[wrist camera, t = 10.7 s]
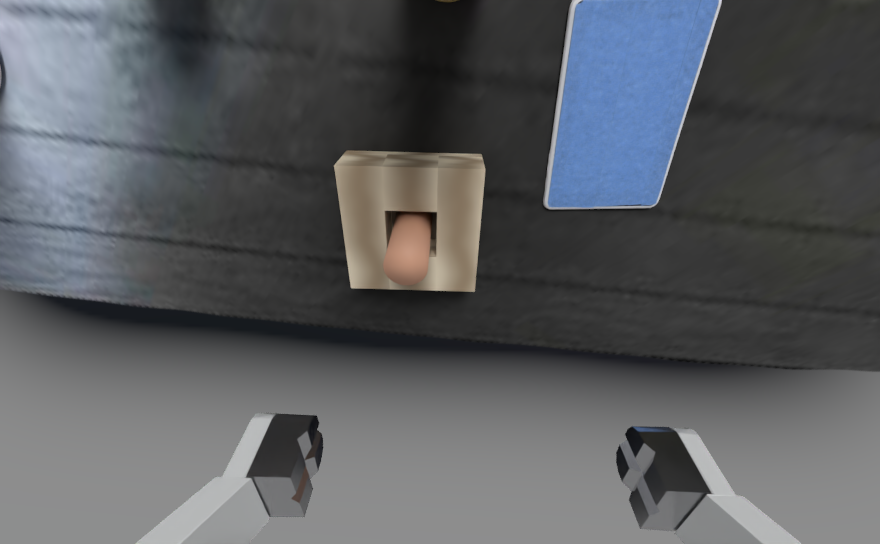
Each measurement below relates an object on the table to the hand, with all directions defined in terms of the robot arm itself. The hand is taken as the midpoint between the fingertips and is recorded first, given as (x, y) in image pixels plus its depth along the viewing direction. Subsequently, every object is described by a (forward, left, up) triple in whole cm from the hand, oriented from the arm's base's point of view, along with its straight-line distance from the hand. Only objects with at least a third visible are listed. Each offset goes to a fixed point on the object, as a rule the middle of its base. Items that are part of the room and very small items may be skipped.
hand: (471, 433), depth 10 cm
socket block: (-4, -9, -33) cm, 35 cm away
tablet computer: (+16, +2, -34) cm, 38 cm away
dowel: (-4, -9, -32) cm, 33 cm away
